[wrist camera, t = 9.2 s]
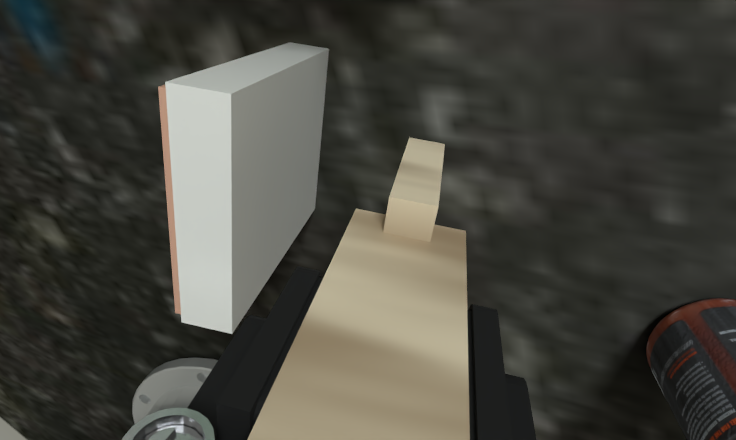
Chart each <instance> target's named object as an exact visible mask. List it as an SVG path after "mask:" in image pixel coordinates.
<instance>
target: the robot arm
mask: <svg viewBox="0 0 736 440" xmlns="http://www.w3.org/2000/svg"><path fill="white" fill-rule="evenodd" d="M322 280H323V278H322V272H321V271H318V270H313V269H309V268H304V267H300V266H298V267H297V268H296V269H295V271H294V273H293V274H292V276H291V278H290V279H289V281H288V283H287V284H286V286H285V288H284V290H283V291H282V293H281V295H280V296H279V298H278V300H277V301H276V303H275V305H274V306H273V308H272V310H271V312H270V313H269V315H268V317H267V318H261V317H257V316H253V315H250V316H248V317H247V318H246V319H245V320H244V322H243V323H242V325H241V326H240V328H239V329H238V331H237V332H236V334H235V335H234V337H233V338H232V340H231V342H230V343H229V345H228V346H227V348H226V349H225V351H224V352H223V354H222V355H221V357H220V358H219V360H215V359H206V358H182V359H177V360H173V361H169V362H166V363H164V364H162V365H160V366H159V367H157V368H155V369H154V370H153V371H152V372H151V373H150V374H149V375H148V376H147V377H146V378H145V379H144V381H143V382H142V383H141V385H140V386H139V387H138V389H137V390H136V393H135V395H134V398H133V406H132V413H133V418H134V423H135V425H133V426H132V427H131V429H130V430H129V431H128V432H127V433H126V435H125V436H124V437H123V439H122V440H247V439H248V437H249V435H250V433H251V431H252V429H253V426H254V424H255V422H256V420H257V418H258V416H259V414H260V412H261V409H262V407H263V405H264V403H265V401H266V399H267V397H268V395H269V392H270V390H271V388H272V386H273V384H274V382H275V380H276V378H277V376H278V373H279V371H280V369H281V367H282V365H283V363H284V361H285V359H286V356H287V354H288V352H289V350H290V348H291V346H292V344H293V342H294V339H295V337H296V335H297V333H298V331H299V329H300V327H301V325H302V322H303V320H304V318H305V316H306V314H307V312H308V310H309V308H310V305H311V303H312V301H313V299H314V297H315V295H316V293H317V291H318V288H319V286H320V284H321V282H322ZM467 322H468V373H469V425H470V440H536V435H535V429H534V423H533V417H532V411H531V406H530V400H529V394H528V388H527V384H526V381H525V380H524V378H521V377H516V376H512V375H508V374H505V372H504V363H503V354H502V346H501V337H500V328H499V320H498V312H497V310H496V309H491V308H487V307H482V306H478V305H473V304H472V305H471V306H470V308H469V310H467Z"/></svg>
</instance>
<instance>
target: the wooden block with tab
mask: <svg viewBox="0 0 736 440" xmlns="http://www.w3.org/2000/svg"><path fill="white" fill-rule="evenodd" d="M444 147H445V144H441V143H436V142H431V141H425V140H420V139H415V138H409V140H408V143H407V146H406V149H405V152H404V155H403V158H402V161H401V164H400V167H399V170H398V173H397V176H396V178H395V181H394V184H393V187H392V190H391V193H390V196H389V201H388V207H387V213H386V215H385V214H380V213H375V212H370V211H365V210H361V209H356V210H355V212H354V214H353V216H352V218H351V220H350V223H349V225H348V227H347V229H346V231H345V233H344V235H343V237H342V240H341V242H340V244H339V246H338V248H337V250H336V252H335V254H334V257H333V259H332V261H331V263H330V265H329V267H328V269H327V271H326V274H325V276H324V278H323V280H322V282H321V284H320V286H319V288H318V291H317V293H316V295H315V297H314V299H313V301H312V303H311V305H310V308H309V310H308V312H307V314H306V316H305V318H304V320H303V322H302V325H301V327H300V329H299V331H298V333H297V335H296V337H295V339H294V342H293V344H292V346H291V348H290V350H289V352H288V354H287V356H286V359H285V361H284V363H283V365H282V367H281V369H280V371H279V373H278V376H277V378H276V380H275V382H274V384H273V386H272V388H271V390H270V392H269V395H268V397H267V399H266V401H265V403H264V405H263V407H262V409H261V412H260V414H259V416H258V418H257V420H256V422H255V424H254V426H253V429H252V431H251V433H250V435H249V437H248V439H247V440H470V425H469V373H468V322H467V270H466V231H463V230H458V229H453V228H449V227H444V226H439V225H434V224H435V219H436V215H437V211H438V206H439V196H440V187H441V177H442V167H443V157H444Z"/></svg>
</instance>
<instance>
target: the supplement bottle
mask: <svg viewBox="0 0 736 440" xmlns="http://www.w3.org/2000/svg"><path fill="white" fill-rule="evenodd" d="M646 355H647V359H648V363H649V366H650V368H651V370H652V373H653V375H654V377H655V379H656V381H657V383H658V385H659V386H660V388H661V390H662V392H663V394H664V396H665V398H666V400H667V402H668V404H669V406H670V408H671V410H672V412H673V414H674V416H675V418H676V420H677V421H678V424H679V426H680V427H681V429H682V431H683V433H684V435H685V437H686V439H687V440H736V300H735V299H725V298H715V299H713V298H712V299H706V300H701V301H697V302H693V303H691V304H688V305H685V306H682V307H681V308H678V309H676V310H674V311H673V312H671V313H669V314H668V315H667V316H666V317H664V318H663V319H662V320H661V321H660V322H659V323H658V324H657V325H656V327H655V328H654V329H653V331H652V333H651V334H650V336H649V339H648V342H647V347H646Z"/></svg>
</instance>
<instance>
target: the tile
mask: <svg viewBox="0 0 736 440" xmlns="http://www.w3.org/2000/svg"><path fill="white" fill-rule="evenodd" d="M328 54H329V49H327V48H321V47H315V46H309V45H303V44H297V43H291V42H290V43H286V44H283V45H280V46H277V47H274V48H271V49H268V50H264V51H261V52H258V53H255V54H252V55H249V56H246V57H242V58H239V59H236V60H233V61H230V62H227V63H224V64H220V65H217V66H214V67H211V68H208V69H205V70H201V71H198V72H195V73H192V74H189V75H186V76H183V77H179V78H176V79H173V80H170V81H167V82H165V85H162V86H159V87H158V90H159V103H160V116H161V129H162V143H163V156H164V169H165V182H166V196H167V209H168V222H169V235H170V249H171V262H172V275H173V288H174V302H175V313H178V314H181V320H182V322H183V323H187V324H191V325H195V326H200V327H204V328H208V329H213V330H217V331H221V332H226V333H230V334H233V332H234V330H235V329H236V327H237V326H238V324H239V323H240V321H241V320H242V318H243V317H244V315H245V314H246V312H247V311H248V309H249V308H250V306H251V305H252V303H253V302H254V300H255V299H256V297H257V296H258V294H259V293H260V291H261V290H262V288H263V287H264V285H265V284H266V282H267V281H268V279H269V278H270V276H271V275H272V273H273V272H274V270H275V269H276V267H277V266H278V264H279V262H280V261H281V259H282V258H283V256H284V255H285V253H286V252H287V250H288V249H289V247H290V246H291V244H292V243H293V241H294V240H295V238H296V237H297V235H298V234H299V232H300V231H301V229H302V228H303V226H304V225H305V223H306V222H307V220H308V219H309V217H310V216H311V214H312V213H313V211H314V210H315V201H316V190H317V179H318V167H319V156H320V144H321V133H322V122H323V110H324V99H325V88H326V76H327V65H328Z"/></svg>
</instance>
